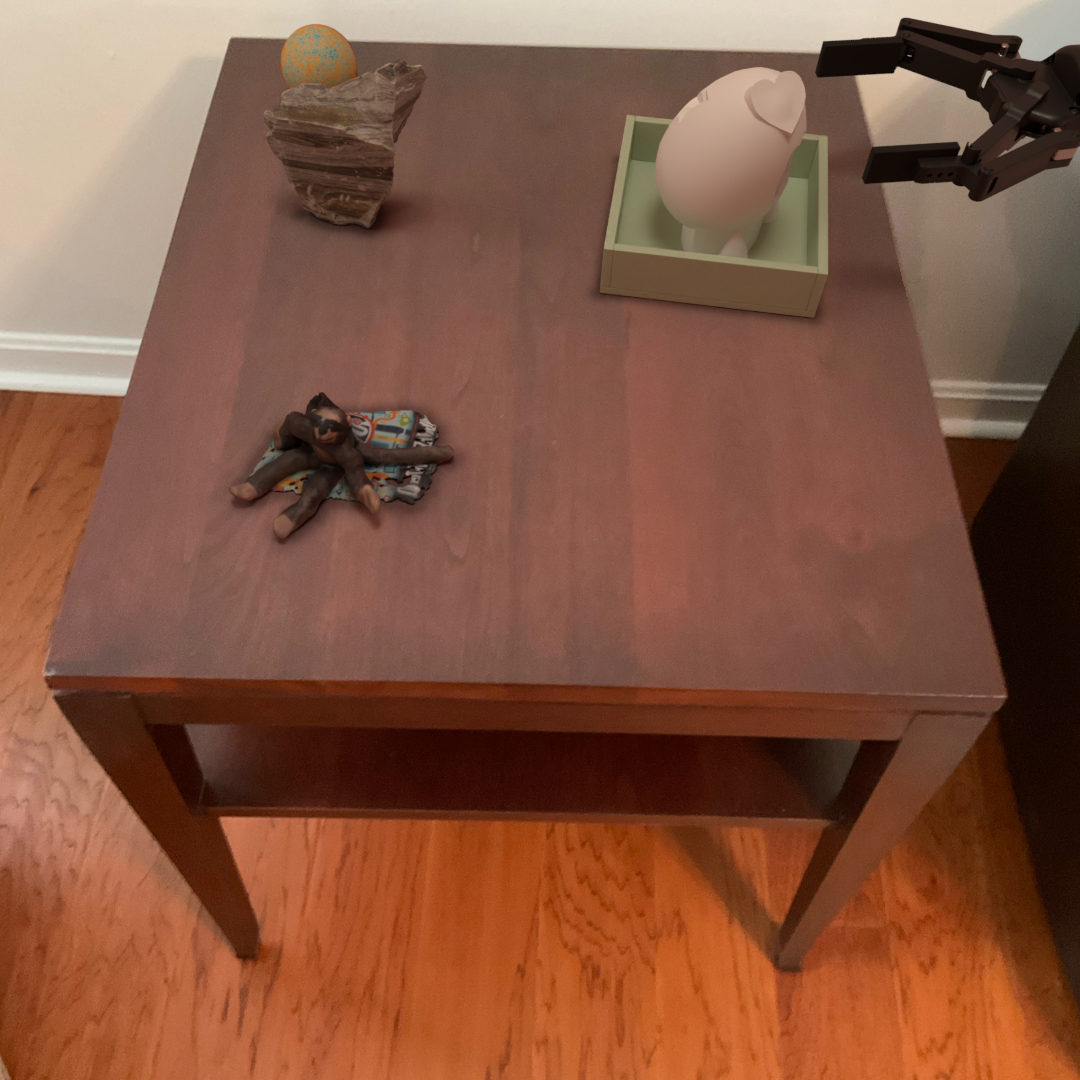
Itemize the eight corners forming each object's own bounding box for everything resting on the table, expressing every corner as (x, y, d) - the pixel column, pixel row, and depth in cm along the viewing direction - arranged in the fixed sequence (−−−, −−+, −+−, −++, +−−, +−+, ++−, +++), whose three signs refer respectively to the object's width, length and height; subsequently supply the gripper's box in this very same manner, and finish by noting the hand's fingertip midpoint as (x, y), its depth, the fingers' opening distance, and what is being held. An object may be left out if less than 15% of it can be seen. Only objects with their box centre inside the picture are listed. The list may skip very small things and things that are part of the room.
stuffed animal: (202, 459, 73) (305, 329, 71) (293, 488, 82) (387, 373, 79) (286, 570, 68) (400, 433, 66) (373, 588, 77) (476, 469, 74)
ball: (355, 124, 96) (344, 54, 91) (281, 120, 97) (266, 50, 91) (367, 80, 100) (357, 10, 94) (296, 76, 101) (282, 6, 95)
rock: (277, 214, 89) (237, 52, 77) (305, 174, 92) (272, 11, 80) (412, 247, 87) (394, 86, 75) (437, 204, 90) (424, 43, 78)
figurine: (627, 247, 87) (644, 84, 74) (677, 171, 92) (701, 7, 80) (752, 289, 84) (792, 128, 72) (795, 208, 90) (839, 45, 77)
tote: (815, 180, 93) (828, 135, 89) (814, 318, 83) (828, 274, 79) (622, 160, 94) (626, 114, 90) (599, 293, 85) (603, 248, 81)
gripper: (1147, 238, 78) (875, 257, 76) (1025, 49, 91) (792, 62, 90) (1202, 153, 71) (907, 171, 70) (1062, -37, 85) (813, -25, 83)
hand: (842, 110), depth 80 cm, fingers open, 13 cm apart
